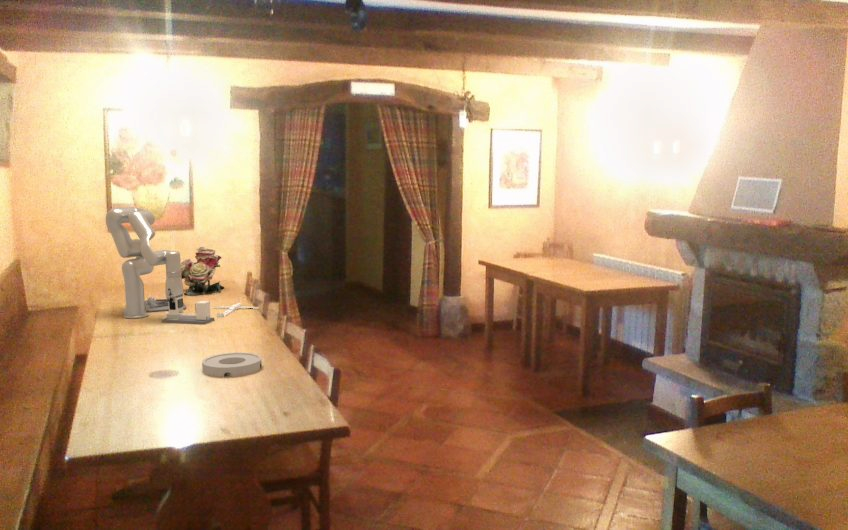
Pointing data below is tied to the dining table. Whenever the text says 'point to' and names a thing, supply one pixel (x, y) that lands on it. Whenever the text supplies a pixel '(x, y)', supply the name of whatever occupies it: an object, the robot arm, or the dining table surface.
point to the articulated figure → (231, 309)
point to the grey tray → (157, 305)
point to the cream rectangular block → (177, 306)
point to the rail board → (187, 321)
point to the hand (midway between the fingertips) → (175, 308)
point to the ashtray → (231, 364)
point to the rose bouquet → (201, 273)
